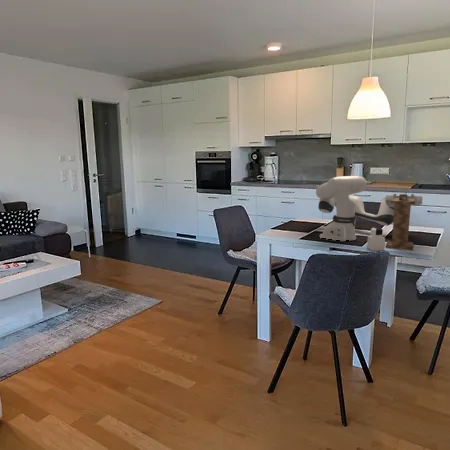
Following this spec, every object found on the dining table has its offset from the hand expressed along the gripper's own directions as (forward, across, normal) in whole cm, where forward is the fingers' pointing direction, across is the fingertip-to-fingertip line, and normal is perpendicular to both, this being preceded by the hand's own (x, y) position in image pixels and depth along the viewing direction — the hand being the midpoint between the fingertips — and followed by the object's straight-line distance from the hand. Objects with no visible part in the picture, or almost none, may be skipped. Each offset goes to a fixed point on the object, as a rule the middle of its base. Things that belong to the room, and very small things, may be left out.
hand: (403, 194), depth 224 cm
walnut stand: (-5, 0, -30) cm, 30 cm away
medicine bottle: (+4, +12, -36) cm, 38 cm away
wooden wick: (+3, 0, -3) cm, 4 cm away
